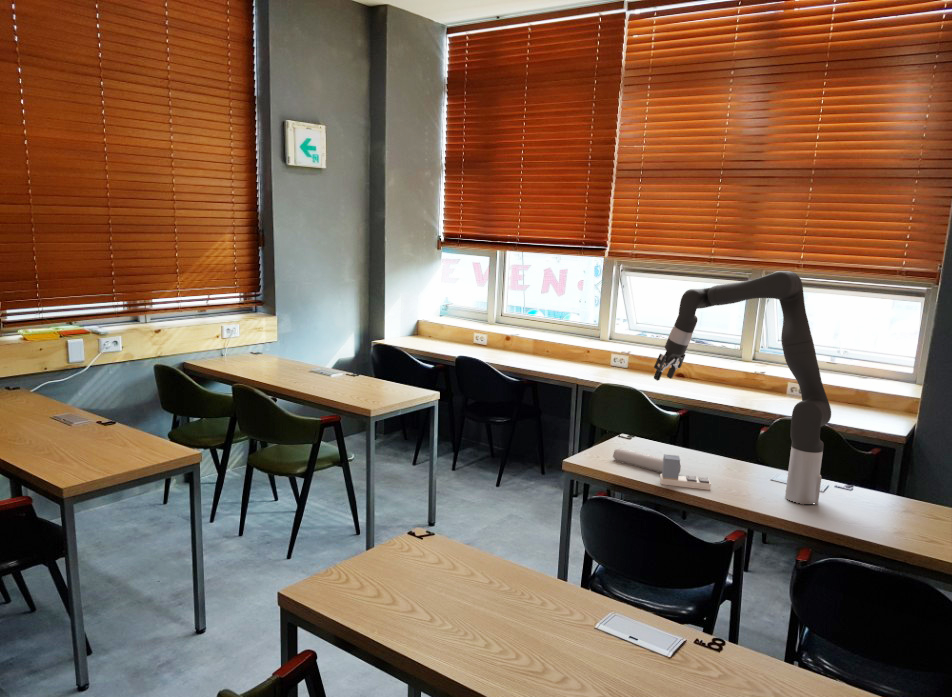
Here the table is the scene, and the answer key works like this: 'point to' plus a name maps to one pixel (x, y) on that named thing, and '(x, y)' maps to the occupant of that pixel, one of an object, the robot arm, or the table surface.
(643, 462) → the tube
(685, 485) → the board
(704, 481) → the mark
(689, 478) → the mark
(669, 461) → the block
